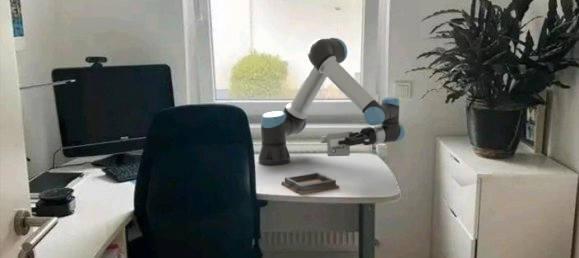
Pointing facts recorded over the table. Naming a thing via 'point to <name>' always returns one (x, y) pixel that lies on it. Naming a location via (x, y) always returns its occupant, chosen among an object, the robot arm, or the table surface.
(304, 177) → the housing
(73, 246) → the table surface
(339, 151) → the electrical switch
